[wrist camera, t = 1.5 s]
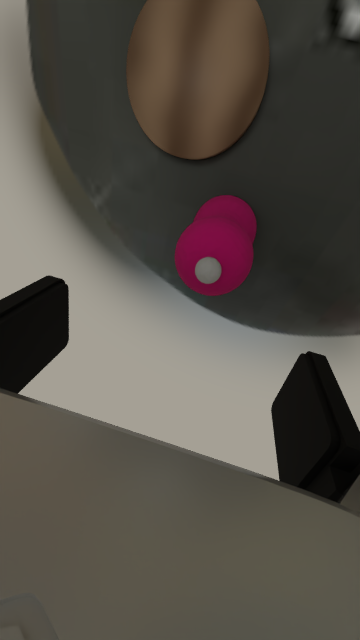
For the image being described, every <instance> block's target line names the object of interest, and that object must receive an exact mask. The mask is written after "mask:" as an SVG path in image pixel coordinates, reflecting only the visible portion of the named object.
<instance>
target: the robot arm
mask: <svg viewBox="0 0 360 640" xmlns="http://www.w3.org/2000/svg"><path fill="white" fill-rule="evenodd" d="M68 300H69V299H68V285H67V284H65V282H64V280H62V279H59V278H56V277H53V276H46V277H44V278H42V279H40V280H38V281H36V282H34V283H32V284H30V285H28V286H26V287H25V288H22V289H21V290H19V291H17V292H15V293H13V294H11V295H9V296H7V297H5V298H3V299H1V300H0V640H360V431H359V429H358V427H357V425H356V422H355V420H354V418H353V416H352V414H351V411H350V409H349V407H348V405H347V403H346V400H345V398H344V396H343V394H342V391H341V389H340V387H339V385H338V383H337V380H336V378H335V376H334V374H333V372H332V370H331V367H330V365H329V363H328V360H327V359H326V357H325V356H324V355H320V354H317V353H313V352H310V351H308V352H307V353H306V354H301V355H300V356H299V357H298V359H297V361H296V363H295V364H294V367H293V368H292V370H291V372H290V373H289V375H288V377H287V379H286V381H285V382H284V384H283V386H282V388H281V389H280V391H279V393H278V395H277V397H276V398H275V400H274V402H273V405H272V410H271V411H272V420H273V429H274V438H275V446H276V454H277V463H278V471H279V479H280V481H278V480H275V479H272V478H269V477H266V476H263V475H261V474H258V473H255V472H252V471H249V470H247V469H244V468H241V467H238V466H235V465H231V464H229V463H226V462H223V461H220V460H217V459H214V458H211V457H208V456H205V455H202V454H199V453H196V452H193V451H190V450H187V449H184V448H181V447H178V446H175V445H172V444H169V443H166V442H163V441H160V440H157V439H154V438H151V437H148V436H145V435H142V434H139V433H136V432H133V431H130V430H127V429H124V428H121V427H118V426H115V425H112V424H109V423H106V422H102V421H100V420H96V419H93V418H90V417H87V416H84V415H81V414H78V413H75V412H72V411H69V410H66V409H63V408H60V407H57V406H53V405H50V404H47V403H44V402H41V401H38V400H35V399H32V398H29V397H26V396H23V395H20V394H18V393H19V392H20V391H21V390H22V389H23V388H24V387H25V386H26V385H27V384H28V383H29V382H30V381H31V380H32V379H33V378H34V377H35V376H36V375H37V374H38V373H39V372H40V371H41V370H42V369H43V368H44V367H45V366H46V365H47V364H48V363H50V362H51V361H52V360H53V358H55V357H56V356H57V355H58V354H59V353H60V352H61V351H62V350H63V349H64V348H65V347H66V345H67V343H68V340H69V319H68V318H69V317H68V316H69V304H68V303H69V301H68Z"/></svg>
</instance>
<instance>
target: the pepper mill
mask: <svg viewBox="0 0 360 640" xmlns="http://www.w3.org/2000/svg"><path fill="white" fill-rule="evenodd" d="M256 228H257V223H256V218H255V215H254V212H253V211H252V209H251V207H250V206H249V205H248V204H247V203H246V202H245V201H243V200H242V199H240V198H238V197H235V196H231V195H221V196H217V197H214V198H212V199H210V200H209V201H207V202H206V203H205V204H204V205H202V207H201V208H200V209H199V211H198V212H197V214H196V216H195V219H194V222H193V223H192V224H191V225H189V226H188V227H187V228H186V229H185V231H184V232H183V233H182V235H181V236H180V238H179V240H178V242H177V246H176V249H175V265H176V268H177V271H178V273H179V276H180V277H181V279H182V280H183V282H184V283H185V284H186V285H187V286H188V287H189V288H191V289H192V290H194V291H196V292H198V293H200V294H204V295H208V296H216V295H222V294H225V293H229V292H230V291H232V290H234V289H236V288H237V287H238V286H239V285H241V283H242V282H243V281H244V280H245V279H246V277H247V276H248V274H249V272H250V269H251V267H252V262H253V246H252V244H253V241H254V239H255V235H256Z"/></svg>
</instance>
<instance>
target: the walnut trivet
mask: <svg viewBox="0 0 360 640" xmlns="http://www.w3.org/2000/svg"><path fill="white" fill-rule="evenodd" d="M268 69H269V39H268V33H267V28H266V24H265V21H264V17H263V14H262V12H261V9H260V7H259V5H258V3H257V1H256V0H147V2H146V3H145V5H144V7H143V8H142V10H141V12H140V14H139V16H138V18H137V21H136V23H135V25H134V28H133V32H132V35H131V38H130V43H129V47H128V55H127V69H126V74H127V87H128V93H129V98H130V102H131V106H132V108H133V111H134V114H135V116H136V118H137V120H138V122H139V124H140V126H141V128H142V129H143V131H144V132H145V134H146V135H147V136H148V137H149V138H150V140H151V141H152V142H153V143H154V144H156V145H157V146H158V147H159V148H161V149H162V150H164V151H165V152H167V153H169V154H171V155H174V156H177V157H180V158H185V159H191V160H200V159H207V158H210V157H214V156H216V155H218V154H220V153H222V152H224V151H226V150H227V149H229V148H230V147H231V146H232V145H234V144H235V143H236V142H237V141H238V140H239V139H240V138H241V137H242V136H243V135H244V133H245V132H246V131H247V129H248V128H249V126H250V125H251V123H252V121H253V120H254V118H255V116H256V114H257V112H258V109H259V107H260V104H261V101H262V98H263V95H264V90H265V86H266V82H267V77H268Z"/></svg>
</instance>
